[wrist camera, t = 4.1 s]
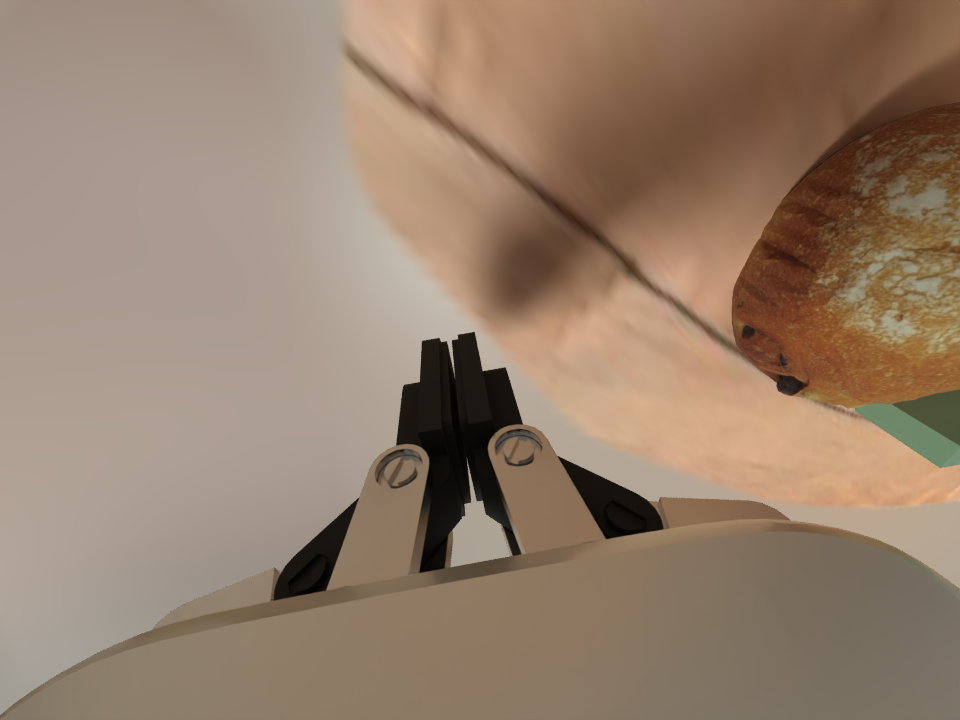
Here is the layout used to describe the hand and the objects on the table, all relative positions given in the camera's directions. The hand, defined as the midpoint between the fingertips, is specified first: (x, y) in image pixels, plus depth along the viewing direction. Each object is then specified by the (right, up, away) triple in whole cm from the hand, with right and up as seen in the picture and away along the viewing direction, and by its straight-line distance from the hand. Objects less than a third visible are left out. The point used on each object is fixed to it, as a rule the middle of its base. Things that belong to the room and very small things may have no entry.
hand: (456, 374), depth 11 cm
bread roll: (+16, +4, +3) cm, 17 cm away
